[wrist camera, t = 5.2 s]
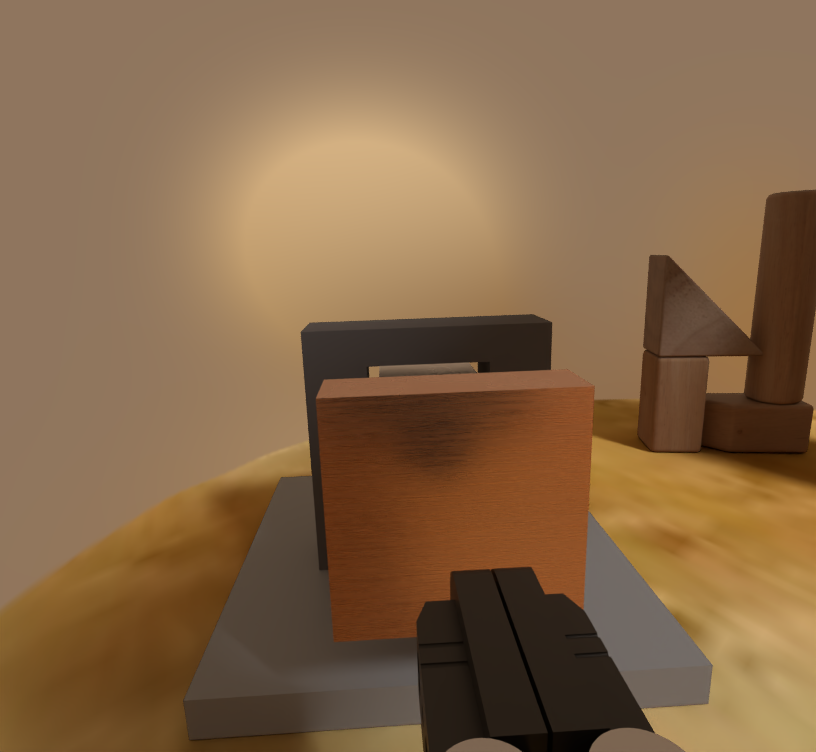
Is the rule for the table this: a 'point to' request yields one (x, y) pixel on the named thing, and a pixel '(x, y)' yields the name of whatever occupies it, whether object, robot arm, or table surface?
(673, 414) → the wooden block
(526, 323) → the rubber collar
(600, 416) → the table surface
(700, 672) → the base plate
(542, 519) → the sliding block
